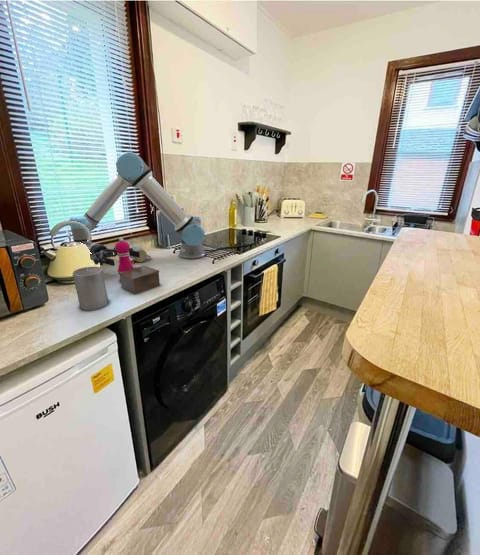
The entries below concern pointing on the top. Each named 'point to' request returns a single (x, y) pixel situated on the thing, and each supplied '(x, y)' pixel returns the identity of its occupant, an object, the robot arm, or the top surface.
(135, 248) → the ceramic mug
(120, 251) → the pepper mill
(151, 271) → the block
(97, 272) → the pillar candle
